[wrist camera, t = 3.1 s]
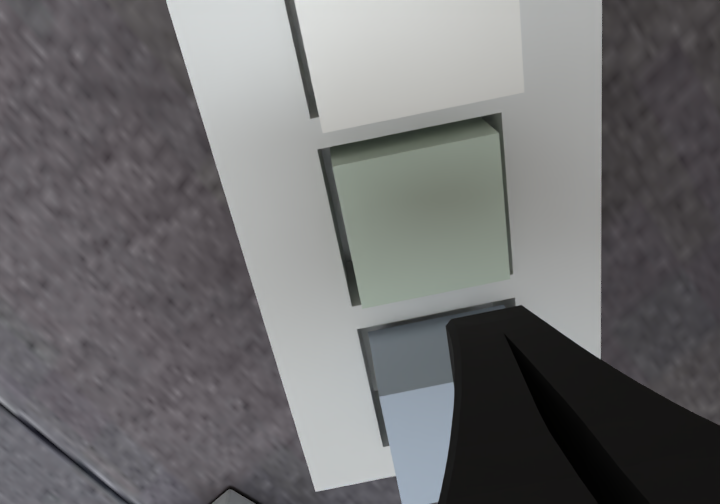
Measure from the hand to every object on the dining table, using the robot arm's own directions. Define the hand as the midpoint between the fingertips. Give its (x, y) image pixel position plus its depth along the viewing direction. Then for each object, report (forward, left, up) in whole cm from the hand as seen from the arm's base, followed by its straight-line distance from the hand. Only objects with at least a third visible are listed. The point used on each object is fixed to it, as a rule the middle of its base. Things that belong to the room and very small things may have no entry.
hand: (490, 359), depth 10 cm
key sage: (0, 0, -9) cm, 9 cm away
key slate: (0, +6, -7) cm, 9 cm away
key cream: (0, -6, -7) cm, 9 cm away
